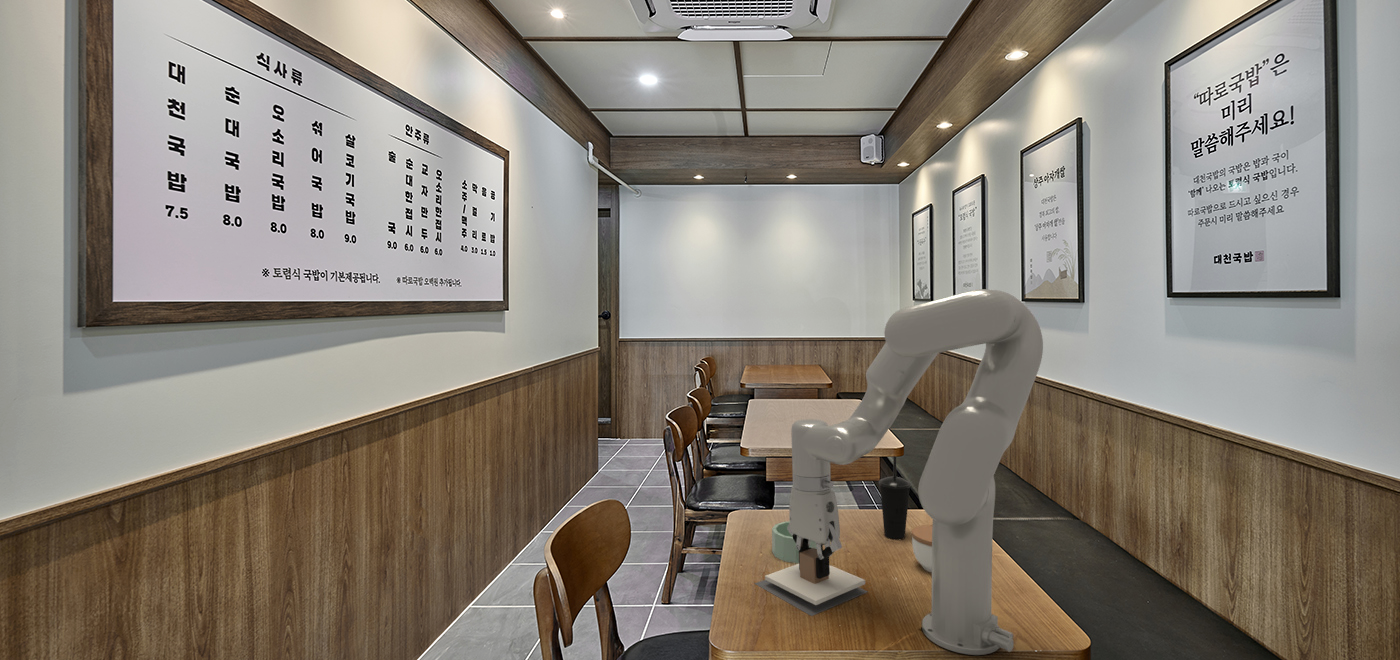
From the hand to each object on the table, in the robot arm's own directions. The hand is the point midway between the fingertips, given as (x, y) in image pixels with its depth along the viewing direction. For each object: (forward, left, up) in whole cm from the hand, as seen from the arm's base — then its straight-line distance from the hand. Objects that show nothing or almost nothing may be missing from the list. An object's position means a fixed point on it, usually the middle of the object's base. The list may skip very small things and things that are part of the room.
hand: (814, 571), depth 119 cm
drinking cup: (+9, -38, -4) cm, 39 cm away
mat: (+1, 0, -4) cm, 4 cm away
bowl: (+15, -10, -4) cm, 18 cm away
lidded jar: (-8, -30, -4) cm, 31 cm away
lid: (0, 0, -2) cm, 2 cm away
